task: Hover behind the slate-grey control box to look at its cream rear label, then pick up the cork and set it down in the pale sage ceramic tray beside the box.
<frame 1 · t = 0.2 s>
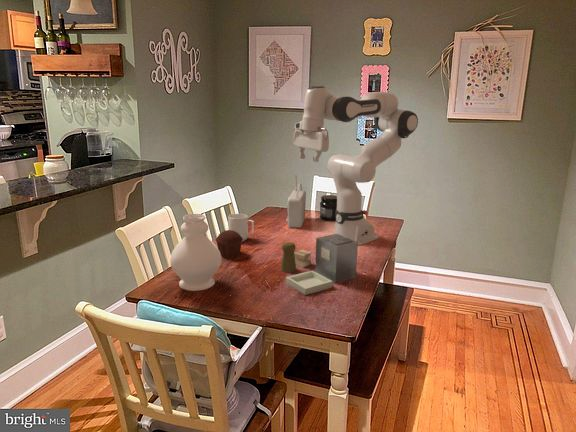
hand: (308, 160, 198), 39 cm above the table, tool pointing down, fingers open, 8 cm apart
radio: (295, 223, 247), on the table
maple block: (302, 264, 191), on the table
supplement container: (329, 219, 256), on the table
decorative vase: (197, 284, 172), on the table
tray: (308, 285, 172), on the table
mug: (241, 240, 220), on the table
muffin: (229, 254, 202), on the table
control box: (335, 275, 181), on the table
cork: (288, 270, 185), on the table
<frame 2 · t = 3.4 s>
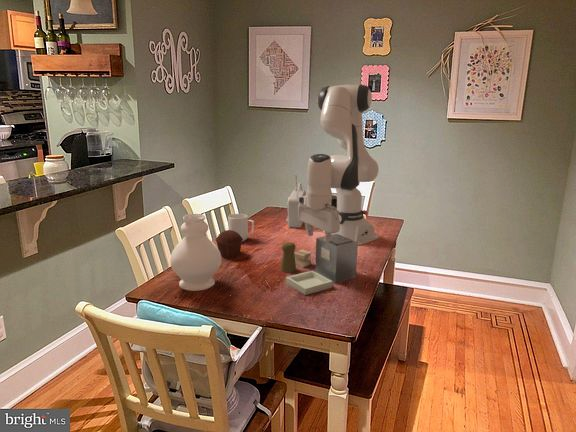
hand: (317, 238, 172), 16 cm above the table, tool pointing down, fingers open, 8 cm apart
nothing on the table moved.
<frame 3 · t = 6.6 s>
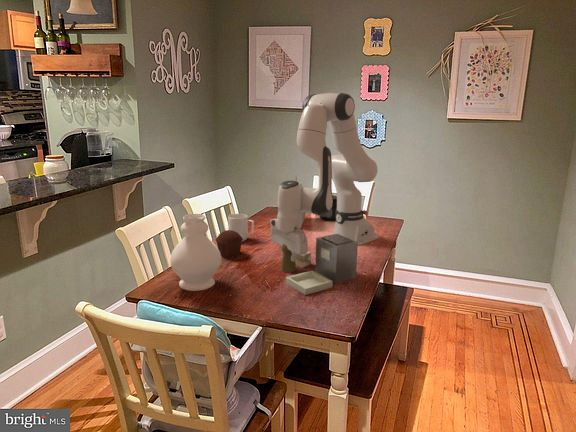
hand: (288, 258, 184), 5 cm above the table, tool pointing down, fingers closed on cork, 4 cm apart
cork: (288, 270, 185), on the table, touching gripper
everything else where it was.
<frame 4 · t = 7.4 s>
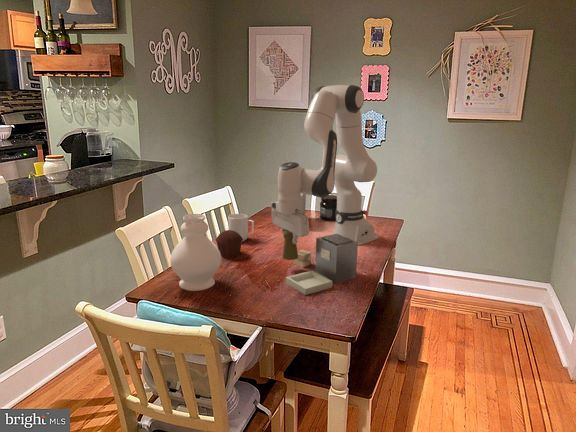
hand: (290, 241, 183), 12 cm above the table, tool pointing down, fingers closed on cork, 4 cm apart
cork: (290, 257, 185), point 5 cm above the table, touching gripper
everything else where it was.
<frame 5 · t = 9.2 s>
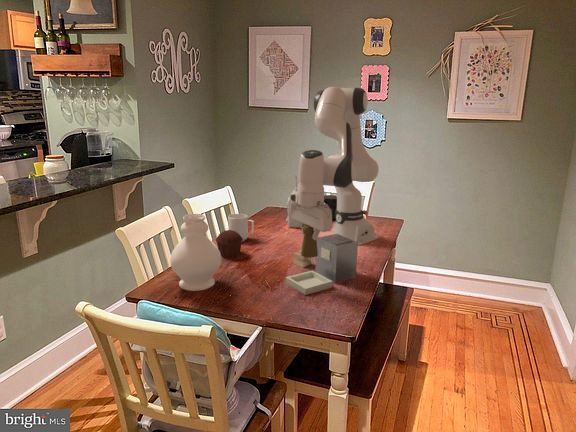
hand: (310, 237, 167), 18 cm above the table, tool pointing down, fingers closed on cork, 4 cm apart
cork: (309, 255, 168), point 11 cm above the table, touching gripper
everything else where it was.
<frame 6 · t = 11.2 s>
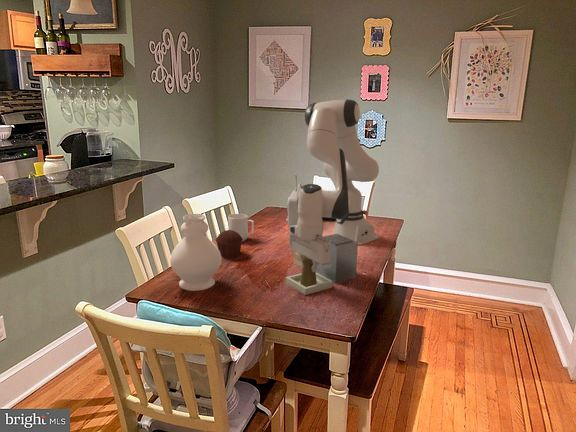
hand: (309, 268, 170), 6 cm above the table, tool pointing down, fingers closed on cork, 4 cm apart
cork: (308, 284, 171), resting on tray, touching gripper
everything else where it was.
when the fingers open (6 cm above the table, at t = 11.6 s): cork stays where it is, resting on tray.
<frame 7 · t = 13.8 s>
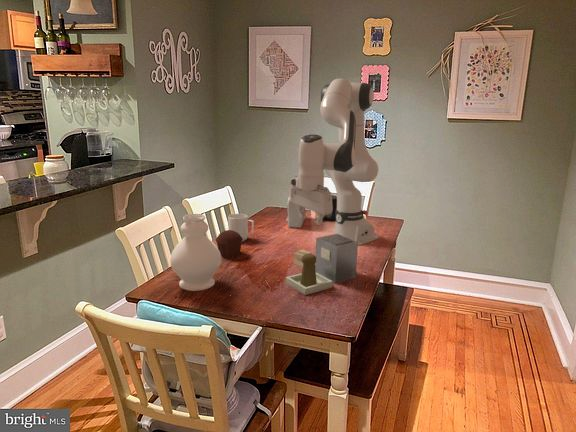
hand: (310, 220, 169), 23 cm above the table, tool pointing down, fingers open, 8 cm apart
cork: (308, 284, 171), resting on tray
everything else where it was.
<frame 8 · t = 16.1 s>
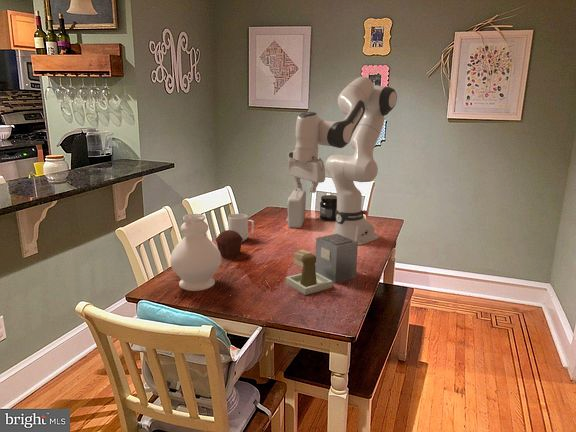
hand: (305, 190, 189), 29 cm above the table, tool pointing down, fingers open, 8 cm apart
nothing on the table moved.
at the end: cork inside the target area on the tray (0.1 cm from its centre), point 0.4 cm above the tray's base; cork tilted 0°; the gripper is holding nothing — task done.
